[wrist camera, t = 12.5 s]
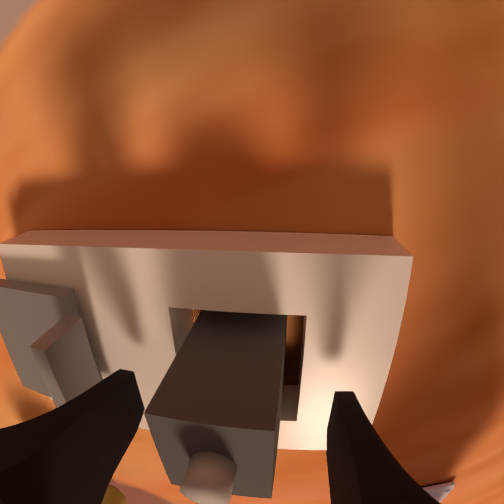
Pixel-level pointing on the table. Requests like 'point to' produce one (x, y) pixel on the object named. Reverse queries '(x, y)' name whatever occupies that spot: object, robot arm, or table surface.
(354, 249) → the socket plate
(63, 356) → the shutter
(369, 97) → the table surface
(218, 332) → the plug
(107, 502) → the plant pot
